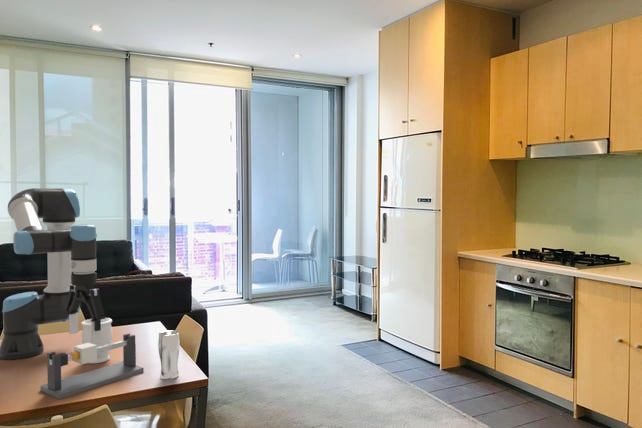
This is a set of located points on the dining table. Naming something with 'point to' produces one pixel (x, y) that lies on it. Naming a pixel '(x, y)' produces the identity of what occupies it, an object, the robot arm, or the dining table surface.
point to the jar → (105, 339)
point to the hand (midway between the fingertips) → (84, 336)
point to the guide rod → (76, 355)
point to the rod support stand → (90, 373)
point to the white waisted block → (169, 353)
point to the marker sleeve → (86, 353)
